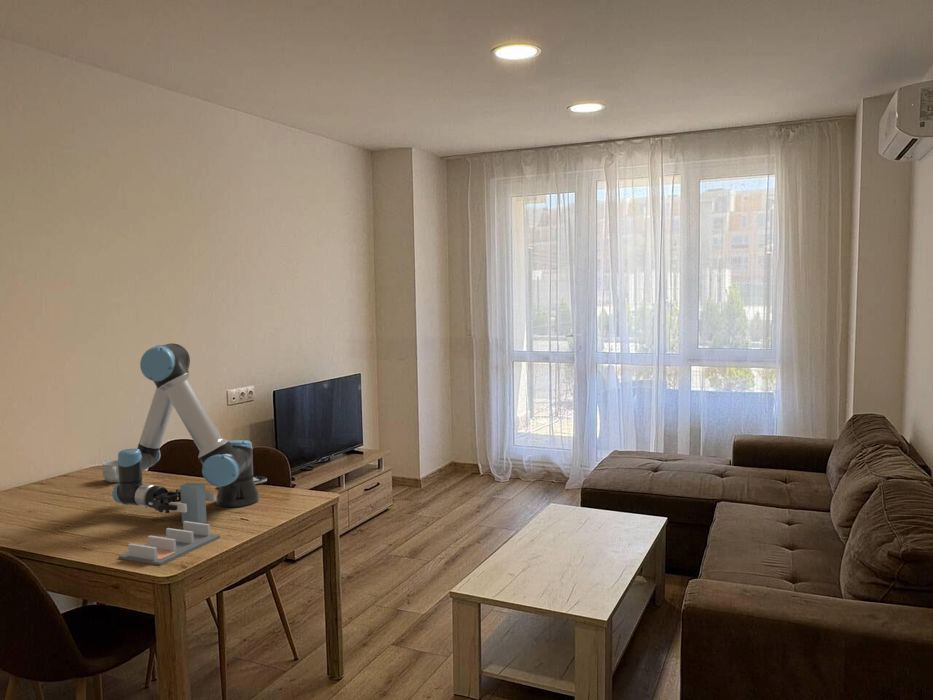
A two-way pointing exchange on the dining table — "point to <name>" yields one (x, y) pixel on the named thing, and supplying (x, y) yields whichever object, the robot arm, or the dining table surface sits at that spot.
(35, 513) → the dining table surface
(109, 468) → the teacup
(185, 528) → the rack
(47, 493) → the dining table surface
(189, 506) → the tall grey pillar
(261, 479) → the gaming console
